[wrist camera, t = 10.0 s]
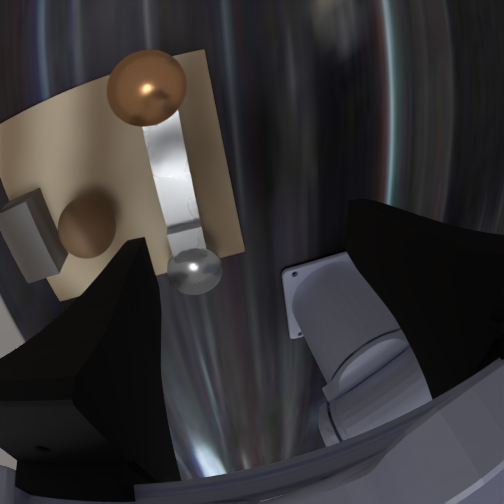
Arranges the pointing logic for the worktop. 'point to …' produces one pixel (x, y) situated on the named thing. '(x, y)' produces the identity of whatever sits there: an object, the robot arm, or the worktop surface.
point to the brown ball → (86, 227)
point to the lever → (166, 160)
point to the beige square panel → (107, 179)
